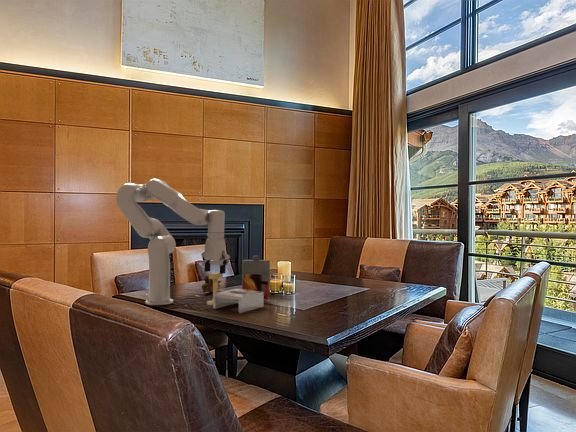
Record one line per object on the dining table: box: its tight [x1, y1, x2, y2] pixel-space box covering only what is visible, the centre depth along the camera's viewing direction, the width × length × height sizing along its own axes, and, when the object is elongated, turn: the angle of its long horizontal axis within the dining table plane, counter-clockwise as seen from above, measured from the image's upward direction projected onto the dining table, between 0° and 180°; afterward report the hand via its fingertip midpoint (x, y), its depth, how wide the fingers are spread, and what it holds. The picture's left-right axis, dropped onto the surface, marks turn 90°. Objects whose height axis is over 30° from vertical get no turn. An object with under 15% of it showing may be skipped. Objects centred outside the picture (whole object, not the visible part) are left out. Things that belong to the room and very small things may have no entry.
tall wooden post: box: [206, 271, 223, 307], centre depth 196 cm, size 3×8×14 cm, turn 146°
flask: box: [241, 255, 271, 295], centre depth 226 cm, size 15×6×20 cm, turn 88°
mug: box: [243, 274, 269, 301], centre depth 207 cm, size 10×14×12 cm
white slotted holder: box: [212, 288, 265, 314], centre depth 189 cm, size 16×16×7 cm
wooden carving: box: [201, 273, 222, 293], centre depth 227 cm, size 16×5×10 cm, turn 164°
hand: (214, 272), depth 196 cm, fingers open, 9 cm apart
